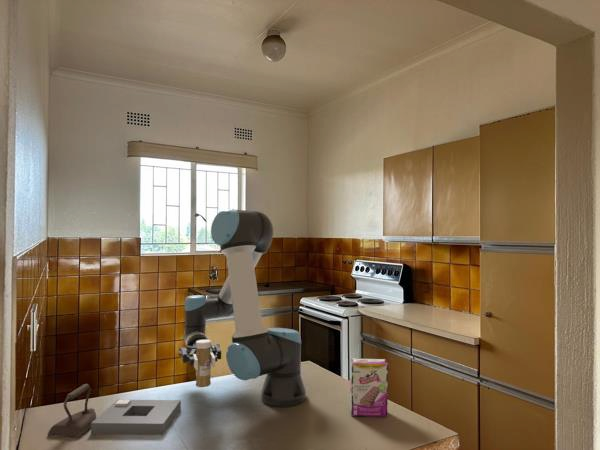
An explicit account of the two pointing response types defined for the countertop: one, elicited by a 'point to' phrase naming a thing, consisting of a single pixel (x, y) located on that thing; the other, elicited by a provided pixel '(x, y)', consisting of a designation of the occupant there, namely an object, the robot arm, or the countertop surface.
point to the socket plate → (137, 417)
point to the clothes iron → (75, 418)
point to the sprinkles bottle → (203, 363)
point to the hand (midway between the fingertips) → (205, 363)
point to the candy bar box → (369, 387)
